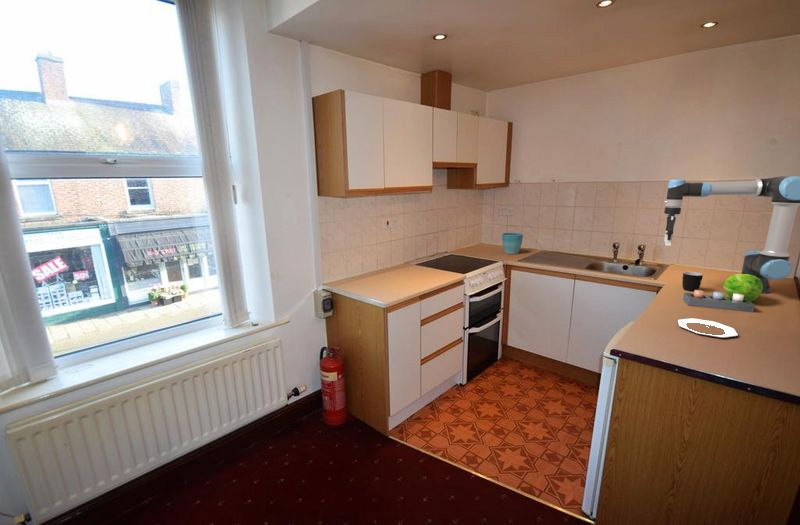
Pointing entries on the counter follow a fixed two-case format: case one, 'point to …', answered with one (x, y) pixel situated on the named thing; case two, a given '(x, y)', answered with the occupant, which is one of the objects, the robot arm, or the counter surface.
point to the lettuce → (743, 286)
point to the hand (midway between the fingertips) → (667, 243)
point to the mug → (691, 281)
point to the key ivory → (738, 297)
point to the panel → (718, 303)
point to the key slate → (718, 295)
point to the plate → (728, 330)
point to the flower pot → (512, 242)
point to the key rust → (698, 293)
